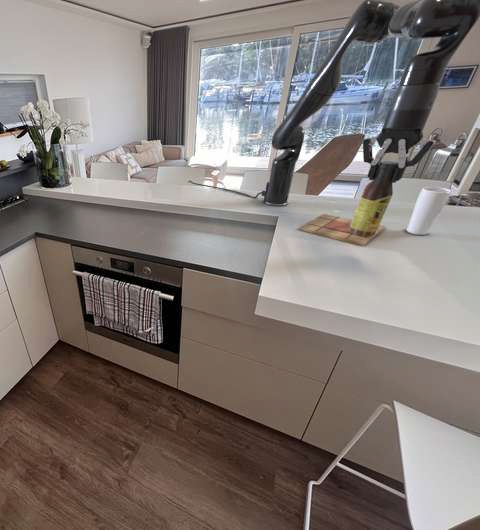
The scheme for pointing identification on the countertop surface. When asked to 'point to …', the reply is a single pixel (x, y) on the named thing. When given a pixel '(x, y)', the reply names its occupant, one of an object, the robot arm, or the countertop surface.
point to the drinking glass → (427, 209)
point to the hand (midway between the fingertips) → (382, 180)
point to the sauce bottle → (374, 201)
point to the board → (337, 229)
